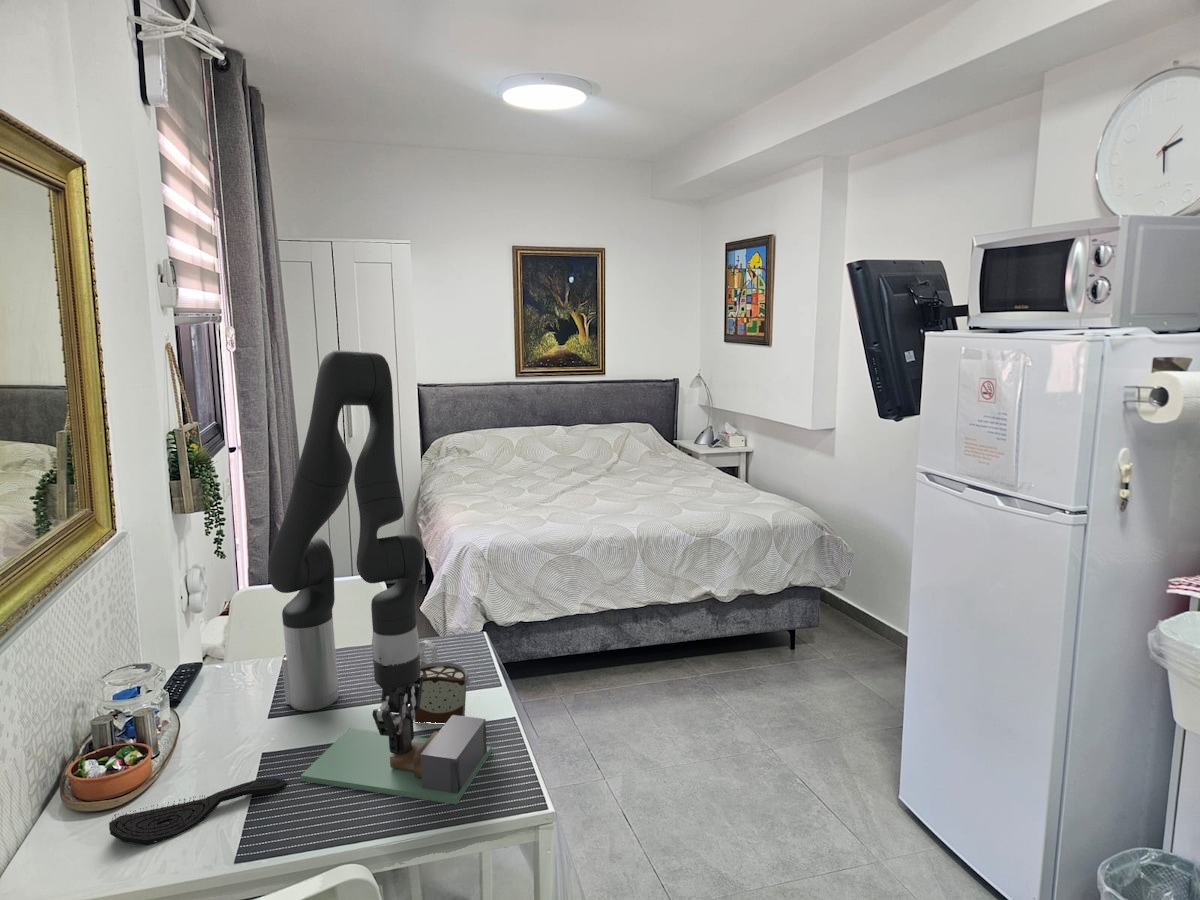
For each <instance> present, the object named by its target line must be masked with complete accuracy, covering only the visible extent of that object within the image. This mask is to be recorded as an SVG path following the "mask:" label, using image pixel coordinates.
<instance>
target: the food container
mask: <svg viewBox="0 0 1200 900" xmlns="http://www.w3.org/2000/svg"><path fill="white" fill-rule="evenodd" d="M420 671H421V674H420V676H423V684H422V693H421V701H420V708H419V711H415V718H414V720H413V722H414V723H415V722H418V723H419V722H420V723H424V722H425V723H426V722H431V723H435V722H436V723H446V722H447V721H448V720H449V719H450V717H451V716H452V715H457V716H465V713H466V700H467V699H466V698H467V697H466V696H467V687H468V688H469V687H471V686H470V684H471V680H470V678H469V673H468V672H467V670H466V668H465V667H464V666H463V665H460V664H458V663H456V662H455V663H454V662H448V661H435V662H433V663H428V664H425V663H423V664H422V665H421V664H420Z"/></svg>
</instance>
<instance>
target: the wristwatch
mask: <svg viewBox="0 0 1200 900" xmlns="http://www.w3.org/2000/svg"><path fill="white" fill-rule="evenodd" d="M426 646H427V647H428V648H429V649H430V651H431V655H430V658H431V660H429V659H428V658H427V657H426V655H425V650H426ZM419 653H420V662H422V663H423V664H428V663H434V662H437V660H438V648H437V647H436V645H435V644H434V643H433V642H432V641H431V640H428V639H425V640H423V641H421V642H420V641H419Z"/></svg>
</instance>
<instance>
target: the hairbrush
mask: <svg viewBox="0 0 1200 900" xmlns="http://www.w3.org/2000/svg"><path fill="white" fill-rule="evenodd" d="M287 785H288V784H287V780H286V779H282V778H277V777H271V778H258V779H257V778H256V779H253V780H251V781H247V782H244V783H240V784H238V785H235V786H231V787H229V788H226V789H223V790H220V791H218V792H215V793H213V794H211V795H209V796H208V795H207V797H206V796H205V795H204V796H203V794H202V795H199V799H197V800H196V799H195V798H196V796H195V795H194V796H193V798H192V797H189V801H187V802H186V798H183V802H181V803H180V801H181V799H178V800H179V802H178V803H177V804H175V803H176V801H175V800H173V804H172V805H166V806H162V807H159V808H158V806H159V805H158V804H156V807H157V808H153V809H149V810H144V809H147V806H146V807H145V808H144V807H143V808H142V807H141V808H139V810H142V809H143V811H138V812H137V810H133V811H132V810H129V812H130V813H127V812H126V813H125V814H122V815H120V814H119V813H117V814H115V813H114V815H113V816H114V817H112V819H111V821H110V822H108V824H109V825H108V829H109V834H110V835H111V836H113V837H114V838H116V839H118V840H119V841H121V842H123V843H128V844H134V845H144V846H149V845H150V846H151V845H154V844H158V843H161V842H164V841H166V840H170V839H171V838H174V837H177V836H178V835H182V834H183V833H185V832H187V831H189V830H191V829H193V828H194V827H196V826H198V825H199V824H200V823H202V822H203V821H204V820H205V819H206V818H207V817H208V816H209V815H210V814H211V813H212V812H213V811H214V810H216V808H217V807H218V806H219V805H221V803H223V802H227V801H229V800H235V799H237V798H241V797H244V796H253V795H261V794H264V795H265V794H268V793H269V794H270V793H277V792H279V791H281V790H282V789H284V788H285V787H286V786H287ZM201 797H204V798H201ZM192 799H193V800H192ZM168 804H170V802H169V801H168ZM152 807H155V805H154V804H153V805H151V808H152ZM131 812H133V813H131ZM116 815H117V817H116Z"/></svg>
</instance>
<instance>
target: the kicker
mask: <svg viewBox="0 0 1200 900" xmlns="http://www.w3.org/2000/svg"><path fill="white" fill-rule="evenodd" d="M393 722H394V725H395V726H396V721H393ZM438 732H439V731H433V732H432V734H431V735H429V738H428V740H427V741H426V742H425V743H418V742H412V741H411V725H410V720H409V719H408V718H405V719H404V720H402V733H403V752H402V753H401V754H395V753H393V754H392V755H391V756H390V766H391V768H398V769H405V770H412V771H414V774H415V777H420V778H422V772H421V755H420V754H421V753H422V752H423V751H424V749H425V748H426V747H427V746H428V744H429V743H430V742H431V741H432V739H433V738H434V737H435V736H436V735H437V733H438Z"/></svg>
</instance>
